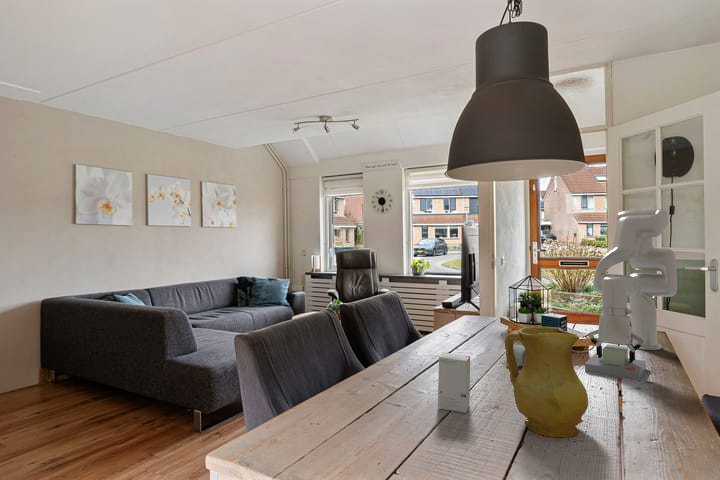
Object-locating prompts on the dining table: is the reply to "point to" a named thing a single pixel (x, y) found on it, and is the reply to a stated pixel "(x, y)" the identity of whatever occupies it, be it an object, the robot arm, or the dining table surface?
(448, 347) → the dining table surface
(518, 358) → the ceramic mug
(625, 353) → the plug
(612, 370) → the socket plate
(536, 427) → the pitcher
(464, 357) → the skincare box
